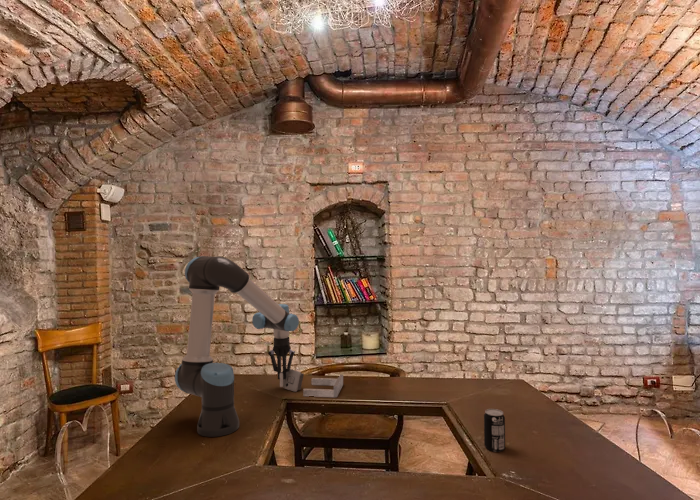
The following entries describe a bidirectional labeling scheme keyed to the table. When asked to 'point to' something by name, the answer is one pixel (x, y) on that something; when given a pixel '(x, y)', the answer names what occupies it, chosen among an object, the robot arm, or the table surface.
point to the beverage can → (494, 430)
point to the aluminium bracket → (325, 392)
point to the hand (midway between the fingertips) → (282, 385)
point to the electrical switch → (293, 380)
